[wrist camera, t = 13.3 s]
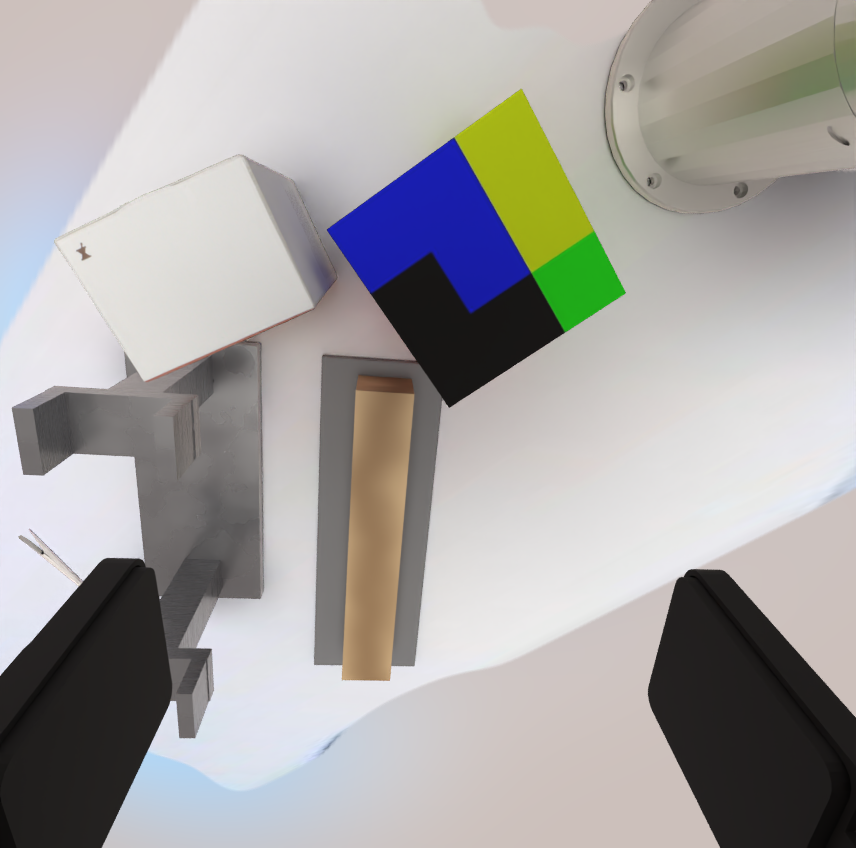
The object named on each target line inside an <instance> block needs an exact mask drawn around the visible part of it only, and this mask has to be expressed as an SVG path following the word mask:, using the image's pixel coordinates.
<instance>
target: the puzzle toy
mask: <svg viewBox="0 0 856 848" xmlns="http://www.w3.org/2000/svg"><path fill="white" fill-rule="evenodd" d="M327 231H328V233H329V234H330V236H331V237H332V238H333V240H334V241H335V243H336V244H337V246H338V247H339V249H340V250H341V251H342V253H343V254H344V256H345V257H346V259H347V260H348V262H349V263H350V265H351V266H352V267H353V269H354V270H355V272H356V273H357V275H358V276H359V278H360V279H361V281H362V282H363V283H364V285H365V286H366V288H367V289H368V291H369V292H370V294H371V295H372V297H373V298H374V299H375V301H376V302H377V304H378V305H379V307H380V308H381V310H382V311H383V313H384V314H385V315H386V317H387V318H388V320H389V321H390V323H391V324H392V326H393V327H394V328H395V330H396V331H397V333H398V334H399V336H400V337H401V339H402V340H403V342H404V343H405V344H406V346H407V347H408V349H409V350H410V352H411V353H412V355H413V356H414V358H415V359H416V360H417V362H418V363H419V365H420V366H421V368H422V369H423V371H424V372H425V374H426V375H427V376H428V378H429V379H430V381H431V382H432V384H433V385H434V387H435V388H436V389H437V391H438V392H439V394H440V395H441V397H442V398H443V400H444V401H445V403H446V404H447V405H448V407H449V408H450V407H451V406H453V405H454V404H456V403H457V402H459V401H460V400H462V399H463V398H465V397H466V396H468V395H470V394H471V393H473V392H474V391H476V390H477V389H479V388H480V387H482V386H483V385H485V384H487V383H488V382H490V381H491V380H493V379H494V378H496V377H497V376H499V375H500V374H502V373H504V372H505V371H507V370H508V369H510V368H511V367H513V366H514V365H516V364H517V363H519V362H520V361H522V360H524V359H525V358H527V357H528V356H530V355H531V354H533V353H534V352H536V351H537V350H539V349H541V348H542V347H544V346H545V345H547V344H548V343H550V342H551V341H553V340H554V339H556V338H557V337H559V336H561V335H562V334H564V333H565V332H567V331H568V330H570V329H571V328H573V327H574V326H576V325H578V324H579V323H581V322H582V321H584V320H585V319H587V318H588V317H590V316H591V315H593V314H594V313H596V312H598V311H599V310H601V309H602V308H604V307H605V306H607V305H608V304H610V303H611V302H613V301H615V300H616V299H618V298H619V297H621V296H622V295H624V294H625V293H626V292H625V290H624V288H623V286H622V284H621V282H620V281H619V279H618V277H617V275H616V273H615V271H614V269H613V267H612V265H611V263H610V261H609V259H608V257H607V255H606V253H605V251H604V249H603V247H602V245H601V243H600V241H599V239H598V237H597V235H596V233H595V232H594V230H593V228H592V226H591V224H590V222H589V220H588V218H587V216H586V214H585V212H584V210H583V208H582V206H581V204H580V202H579V200H578V198H577V196H576V194H575V192H574V190H573V188H572V186H571V185H570V183H569V181H568V179H567V177H566V175H565V173H564V171H563V169H562V167H561V165H560V163H559V161H558V159H557V157H556V155H555V153H554V151H553V149H552V147H551V145H550V143H549V141H548V139H547V137H546V136H545V134H544V132H543V130H542V128H541V126H540V124H539V122H538V120H537V118H536V116H535V114H534V112H533V110H532V108H531V106H530V104H529V102H528V100H527V98H526V96H525V94H524V92H523V90H522V89H520V90H519V91H517V92H516V93H515V94H513V95H512V96H511V97H509V98H508V99H506V100H505V101H504V102H502V103H501V104H499V105H498V106H497V107H495V108H494V109H493V110H491V111H490V112H488V113H487V114H486V115H484V116H483V117H482V118H480V119H479V120H477V121H476V122H475V123H473V124H472V125H470V126H469V127H468V128H466V129H465V130H464V131H462V132H461V133H459V134H458V135H457V136H455V137H454V138H453V139H451V140H450V141H448V142H447V143H446V144H444V145H443V146H441V147H440V148H439V149H437V150H436V151H435V152H433V153H432V154H430V155H429V156H428V157H426V158H425V159H424V160H422V161H421V162H419V163H418V164H417V165H415V166H414V167H412V168H411V169H410V170H408V171H407V172H406V173H404V174H403V175H401V176H400V177H399V178H397V179H396V180H395V181H393V182H392V183H390V184H389V185H388V186H386V187H385V188H383V189H382V190H381V191H379V192H378V193H377V194H375V195H374V196H372V197H371V198H370V199H368V200H367V201H366V202H364V203H363V204H361V205H360V206H359V207H357V208H356V209H354V210H353V211H352V212H350V213H349V214H348V215H346V216H345V217H343V218H342V219H341V220H339V221H338V222H337V223H335V224H334V225H332V226H331V227H330V228H328V229H327Z"/></svg>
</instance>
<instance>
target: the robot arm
mask: <svg viewBox="0 0 856 848" xmlns="http://www.w3.org/2000/svg"><path fill="white" fill-rule="evenodd" d="M619 82H622V83H623V84H624V90H623V91H622V90H621V89H620V87H619ZM605 119H606V128H607V137H608V140H609V144H610V147H611V150H612V154H613V157H614V159H615V161H616V163H617V165H618V167H619V169H620V171H621V173H622V174H623V176H624V177H625V178H626V180H627V181H628V182H629V183H630V185H631V186H632V187H633V188H634V189H635V191H637V192H638V193H639V194H641V195H642V196H643V197H644V198H646V199H647V200H648V201H650V202H651V203H654V204H656V205H658V206H660V207H662V208H664V209H666V210H671V211H676V212H680V213H699V214H700V213H710V212H719V211H722V210H725V209H729V208H732V207H735V206H738V205H740V204H742V203H744V202H746V201H748V200H750V199H751V198H753V197H755V196H757V195H758V194H760V193H761V192H762V191H764V190H765V189H766V188H767V187H769V186H770V185H771V184H773V183H774V182H775V181H776V180H777V179H778V178H779V177H786V176H794V175H803V174H811V173H819V172H827V171H836V170H844V169H852V168H856V0H652V1H651V2H650V3H649V4H648V5H647V6H646V7H645V8H644V10H643V11H642V12H641V13H640V15H639V16H638V17H637V18H636V19H635V21H634V22H633V23H632V25H631V27H630V28H629V30H628V32H627V34H626V35H625V37H624V39H623V41H622V42H621V44H620V46H619V49H618V52H617V54H616V57H615V59H614V62H613V65H612V67H611V72H610V76H609V81H608V85H607V90H606V105H605ZM648 178H650V179H651V184H650V185H649V186H648V185H647V179H648ZM734 189H735V193H734ZM171 696H172V678H171V672H170V665H169V659H168V652H167V646H166V639H165V633H164V626H163V620H162V613H161V607H160V600H159V594H158V587H157V581H156V575H155V571H154V569H153V568H151V567H146V566H145V563H144V562H143V560H141V559H129V558H106V559H103V560H102V561H101V562H100V563H99V564H98V565H97V566H96V567H95V569H94V570H93V571H92V572H91V573H90V574H89V575H88V577H87V578H86V579H85V580H84V581H83V582H82V584H81V585H80V586H79V587H78V588H77V589H76V591H75V592H74V593H73V594H72V595H71V596H70V598H69V599H68V600H67V601H66V602H65V603H64V604H63V606H62V607H61V608H60V609H59V610H58V611H57V613H56V614H55V615H54V616H53V617H52V618H51V620H50V621H49V622H48V623H47V624H46V625H45V627H44V628H43V629H42V630H41V631H40V632H39V633H38V635H37V636H36V637H35V638H34V639H33V640H32V642H31V643H30V644H28V645H27V646H26V647H25V648H24V649H23V650H22V651H21V652H20V654H19V655H18V656H17V657H16V658H15V659H14V661H13V662H12V663H11V664H10V665H9V666H8V667H7V669H6V670H5V671H4V672H3V673H2V674H1V676H0V848H102V846H103V843H104V842H105V840H106V838H107V835H108V833H109V831H110V829H111V827H112V825H113V823H114V821H115V819H116V816H117V814H118V812H119V810H120V808H121V806H122V804H123V801H124V800H125V797H126V795H127V793H128V791H129V789H130V787H131V785H132V783H133V781H134V778H135V776H136V774H137V772H138V770H139V768H140V766H141V764H142V761H143V759H144V757H145V755H146V753H147V751H148V749H149V747H150V745H151V743H152V740H153V738H154V736H155V734H156V732H157V730H158V728H159V726H160V724H161V721H162V719H163V717H164V715H165V713H166V711H167V709H168V706H169V704H170V700H171ZM648 697H649V703H650V706H651V709H652V711H653V713H654V715H655V717H656V719H657V721H658V723H659V725H660V727H661V729H662V731H663V733H664V735H665V737H666V739H667V741H668V743H669V745H670V747H671V749H672V751H673V754H674V755H675V758H676V760H677V762H678V764H679V766H680V768H681V769H682V772H683V774H684V776H685V778H686V780H687V782H688V783H689V786H690V788H691V790H692V792H693V794H694V796H695V798H696V799H697V802H698V804H699V806H700V808H701V810H702V812H703V814H704V816H705V818H706V820H707V822H708V824H709V826H710V828H711V830H712V832H713V834H714V836H715V838H716V840H717V842H718V844H719V846H720V848H856V717H855V716H854V715H853V714H852V713H851V712H850V711H849V710H848V709H847V707H846V706H845V705H844V704H843V703H842V702H841V701H840V699H839V698H838V697H837V696H836V695H835V694H834V693H833V692H832V690H831V689H830V688H829V687H828V686H827V685H826V684H825V683H824V682H823V680H822V679H821V678H820V677H819V676H818V675H817V674H816V672H815V671H814V670H813V669H812V668H811V667H810V666H809V665H808V663H807V662H806V661H805V660H804V659H803V658H802V657H801V656H800V654H799V653H798V652H797V651H796V650H795V649H794V648H793V647H792V645H791V644H790V643H789V642H788V641H787V640H786V639H785V638H784V636H783V635H782V634H781V633H780V632H779V631H778V630H777V629H776V627H775V626H774V625H773V624H772V623H771V622H770V621H769V620H768V618H767V617H766V616H765V615H764V614H763V613H762V612H761V611H760V609H758V607H757V606H756V605H755V604H754V603H753V602H752V600H751V599H750V598H749V597H748V596H747V595H746V594H745V593H744V591H743V590H742V589H741V588H740V587H739V586H738V585H737V584H736V582H735V581H734V580H733V579H732V578H731V577H730V576H729V575H728V574H727V573H726V572H725V571H722V570H701V569H691V570H688V571H687V572H686V574H685V576H684V577H681V578H679V579H678V580H677V581H676V584H675V587H674V591H673V595H672V599H671V603H670V606H669V610H668V614H667V618H666V622H665V626H664V629H663V633H662V637H661V641H660V645H659V648H658V652H657V656H656V660H655V664H654V668H653V671H652V675H651V679H650V683H649V687H648Z"/></svg>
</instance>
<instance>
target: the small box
mask: <svg viewBox="0 0 856 848" xmlns="http://www.w3.org/2000/svg"><path fill="white" fill-rule="evenodd" d="M54 243H55V245H56V246H57V247H58V249H59V250H60V252H61V253H62V255H63V256H64V258H65V259H66V261H67V262H68V264H69V265H70V267H71V268H72V270H73V272H74V273H75V275H76V276H77V278H78V280H79V281H80V283H81V284H82V286H83V287H84V289H85V291H86V292H87V294H88V295H89V297H90V298H91V300H92V302H93V303H94V305H95V306H96V308H97V309H98V311H99V313H100V314H101V316H102V317H103V319H104V320H105V322H106V323H107V325H108V326H109V328H110V330H111V331H112V333H113V334H114V336H115V337H116V339H117V340H118V342H119V344H120V345H121V347H122V348H123V350H124V351H125V353H126V355H127V356H128V358H129V359H130V361H131V362H132V364H133V365H134V367H135V368H136V370H137V371H138V373H139V375H140V376H141V378H142V379H143V381H144V382H149V381H152V380H155V379H157V378H159V377H162V376H164V375H166V374H169V373H171V372H173V371H176V370H178V369H180V368H182V367H185V366H187V365H189V364H192V363H194V362H196V361H199V360H201V359H203V358H205V357H208V356H210V355H212V354H214V353H216V352H219V351H221V350H223V349H226V348H228V347H230V346H232V345H235V344H237V343H239V342H242V341H244V340H246V339H248V338H251V337H253V336H255V335H257V334H259V333H262V332H264V331H266V330H268V329H270V328H273V327H275V326H277V325H280V324H282V323H284V322H287V321H289V320H291V319H293V318H295V317H298V316H300V315H302V314H304V313H306V312H309V311H311V310H313V309H314V308H315V306H316V305H317V304H318V302H319V301H320V300H321V299H322V297H323V296H324V294H325V293H326V292H327V291H328V289H329V288H330V287H331V286H332V284H333V283H334V282H335V281H336V279H337V275H336V273H335V271H334V269H333V267H332V264H331V262H330V260H329V258H328V256H327V254H326V251H325V249H324V247H323V245H322V243H321V241H320V238H319V236H318V234H317V232H316V230H315V227H314V225H313V223H312V221H311V219H310V217H309V214H308V212H307V210H306V208H305V206H304V204H303V201H302V199H301V197H300V195H299V193H298V190H297V188H296V186H295V184H294V182H293V181H292V180H291V179H289V178H287V177H285V176H283V175H281V174H279V173H277V172H275V171H273V170H271V169H269V168H267V167H265V166H263V165H261V164H259V163H257V162H255V161H253V160H251V159H249V158H247V157H246V156H244V155H236V156H233V157H231V158H229V159H226V160H224V161H221V162H219V163H217V164H214V165H212V166H210V167H208V168H205V169H203V170H201V171H198V172H196V173H194V174H192V175H190V176H187V177H185V178H183V179H180V180H178V181H176V182H174V183H171V184H169V185H167V186H165V187H162V188H160V189H157V190H155V191H152V192H150V193H147V194H145V195H142V196H140V197H138V198H136V199H134V200H133V201H130V202H128V203H125V204H124V205H122V206H120V207H119V208H117V209H115V210H113V211H112V212H110V213H108V214H106V215H104V216H102V217H99V218H97V219H96V220H94V221H91V222H89V223H87V224H85V225H83V226H81V227H79V228H77V229H74V230H72V231H70V232H68V233H66V234H64V235H62V236H60V237H58V238H56V239H55V240H54Z"/></svg>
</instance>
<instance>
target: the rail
mask: <svg viewBox="0 0 856 848" xmlns="http://www.w3.org/2000/svg"><path fill="white" fill-rule="evenodd" d="M413 405H414V389H413V383H412V379H407V378H392V377H378V376H363V375H358V380H357V386H356V396H355V417H354V438H353V459H352V479H351V500H350V521H349V542H348V562H347V583H346V604H345V625H344V645H343V666H342V680H380V681H390V674H391V662H392V650H393V639H394V627H395V615H396V604H397V592H398V580H399V569H400V557H401V545H402V534H403V522H404V510H405V499H406V487H407V475H408V464H409V452H410V440H411V429H412V417H413Z"/></svg>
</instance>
